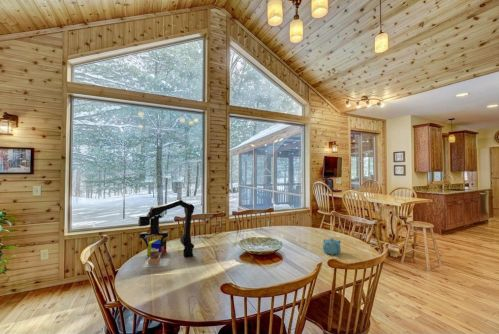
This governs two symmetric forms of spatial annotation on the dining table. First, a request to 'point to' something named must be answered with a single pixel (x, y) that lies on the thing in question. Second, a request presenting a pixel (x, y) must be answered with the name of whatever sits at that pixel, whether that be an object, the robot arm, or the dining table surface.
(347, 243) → the dining table surface
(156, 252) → the walnut cube
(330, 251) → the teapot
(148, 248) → the puzzle toy
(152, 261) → the terracotta base
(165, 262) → the grey flat slab
